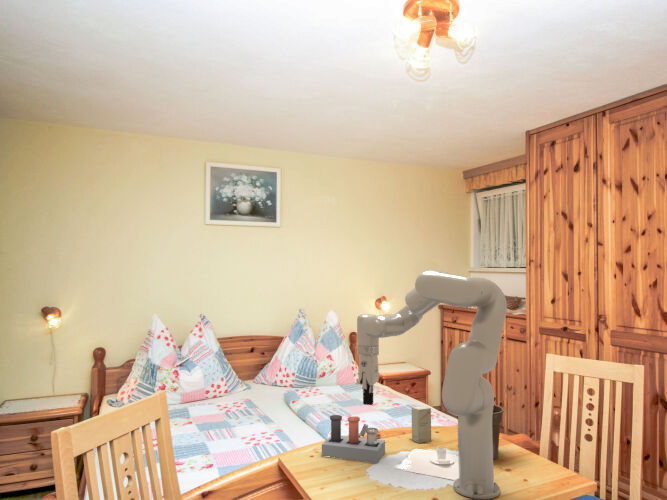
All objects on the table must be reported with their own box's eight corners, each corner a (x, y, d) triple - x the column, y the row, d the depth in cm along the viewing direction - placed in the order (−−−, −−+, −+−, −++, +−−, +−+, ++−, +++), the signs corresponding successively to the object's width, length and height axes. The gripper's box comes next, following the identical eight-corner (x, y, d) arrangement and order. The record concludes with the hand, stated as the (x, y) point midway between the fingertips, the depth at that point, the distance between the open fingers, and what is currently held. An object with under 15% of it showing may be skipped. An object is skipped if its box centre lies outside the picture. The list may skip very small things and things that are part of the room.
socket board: (377, 463, 150) (377, 450, 151) (321, 456, 157) (321, 444, 157) (385, 452, 161) (385, 440, 161) (332, 446, 167) (332, 434, 168)
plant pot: (497, 447, 165) (496, 401, 166) (511, 464, 149) (509, 413, 150) (451, 446, 166) (450, 400, 168) (460, 463, 150) (458, 412, 152)
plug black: (339, 442, 159) (339, 418, 159) (328, 441, 160) (328, 417, 161) (343, 438, 163) (343, 415, 163) (332, 437, 164) (332, 414, 165)
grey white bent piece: (348, 447, 165) (348, 425, 166) (348, 446, 167) (348, 423, 168) (368, 447, 166) (368, 424, 166) (367, 445, 167) (367, 423, 168)
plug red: (357, 444, 156) (357, 420, 157) (346, 443, 158) (346, 419, 159) (361, 440, 160) (361, 417, 161) (349, 439, 162) (349, 416, 162)
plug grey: (376, 456, 154) (376, 431, 155) (364, 454, 155) (364, 430, 156) (379, 452, 158) (379, 428, 159) (367, 450, 159) (367, 427, 160)
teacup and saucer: (450, 468, 145) (449, 455, 145) (425, 464, 149) (425, 451, 149) (457, 459, 153) (456, 446, 153) (433, 455, 157) (433, 442, 157)
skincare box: (418, 443, 169) (418, 409, 171) (411, 440, 173) (410, 407, 174) (432, 440, 173) (431, 407, 174) (424, 437, 176) (423, 405, 177)
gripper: (372, 353, 152) (373, 410, 150) (383, 348, 166) (383, 400, 164) (351, 352, 154) (351, 408, 153) (363, 347, 168) (363, 398, 167)
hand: (368, 404), depth 159 cm, fingers closed
